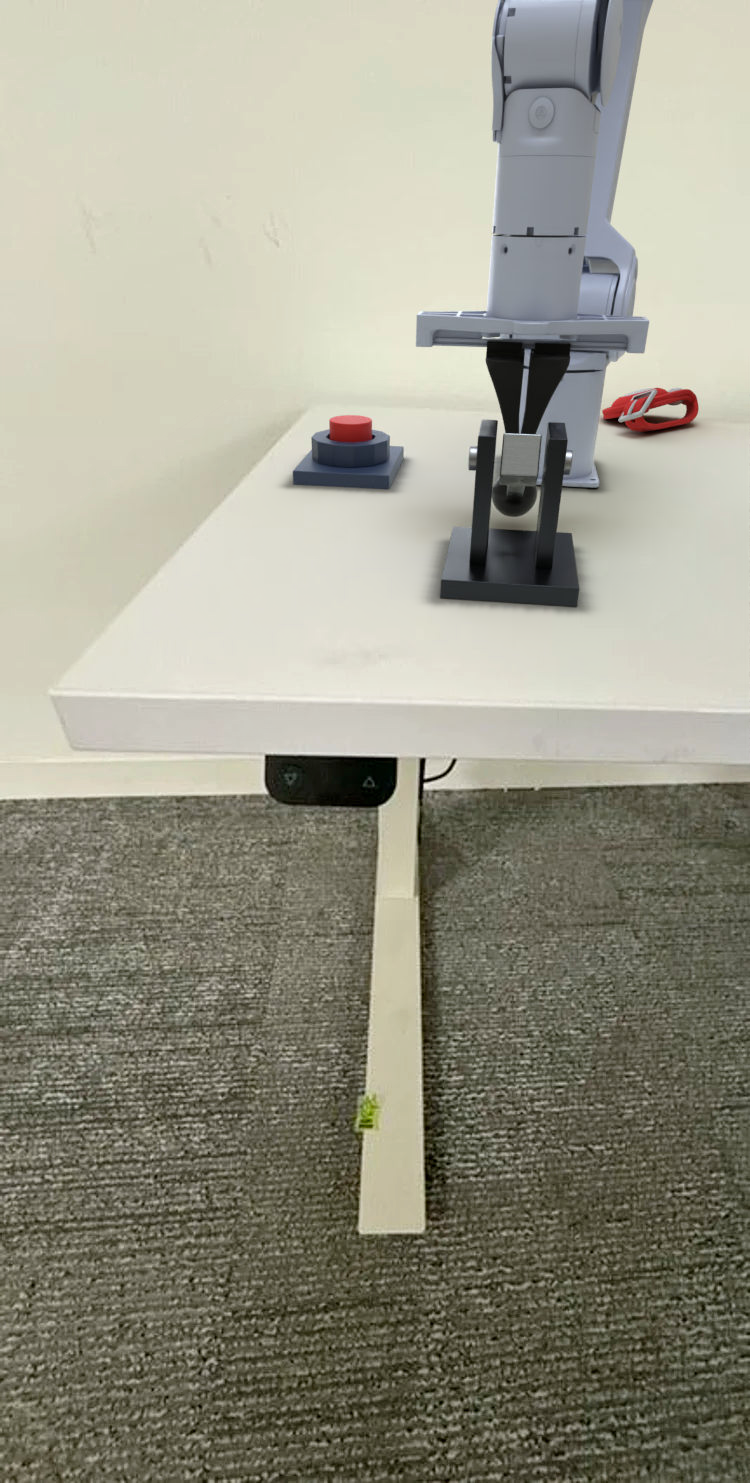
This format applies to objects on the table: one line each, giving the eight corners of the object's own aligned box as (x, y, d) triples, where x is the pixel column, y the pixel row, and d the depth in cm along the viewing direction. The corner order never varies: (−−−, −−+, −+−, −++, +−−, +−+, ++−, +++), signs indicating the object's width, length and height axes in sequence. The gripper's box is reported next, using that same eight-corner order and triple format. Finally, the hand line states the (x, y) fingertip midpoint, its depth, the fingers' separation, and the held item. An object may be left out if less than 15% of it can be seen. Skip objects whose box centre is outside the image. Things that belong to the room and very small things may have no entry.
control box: (317, 455, 80) (316, 421, 78) (403, 459, 79) (404, 425, 77) (293, 485, 71) (291, 448, 70) (388, 490, 70) (389, 452, 69)
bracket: (452, 543, 60) (459, 409, 55) (569, 549, 59) (587, 414, 54) (439, 598, 51) (447, 446, 47) (577, 607, 50) (598, 452, 46)
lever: (489, 519, 63) (493, 474, 63) (533, 521, 63) (537, 476, 62) (490, 481, 50) (495, 425, 50) (546, 484, 50) (551, 427, 50)
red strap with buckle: (587, 402, 96) (675, 379, 96) (594, 443, 98) (680, 420, 97) (622, 396, 85) (722, 369, 84) (629, 443, 86) (727, 416, 86)
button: (334, 435, 75) (333, 414, 75) (374, 437, 75) (374, 415, 74) (326, 444, 72) (325, 423, 72) (368, 446, 72) (368, 424, 71)
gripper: (413, 236, 50) (407, 472, 58) (670, 239, 49) (630, 482, 56) (425, 232, 56) (418, 447, 63) (654, 235, 54) (620, 455, 62)
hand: (517, 462), depth 60 cm, fingers closed
